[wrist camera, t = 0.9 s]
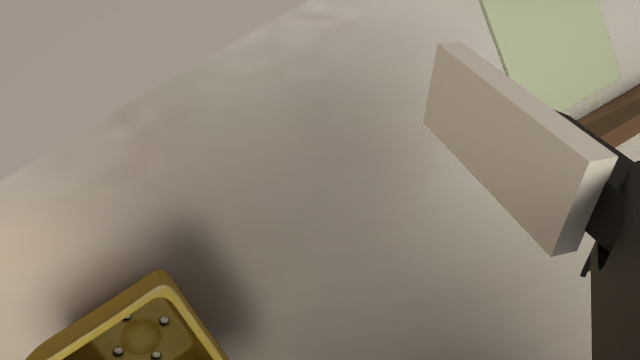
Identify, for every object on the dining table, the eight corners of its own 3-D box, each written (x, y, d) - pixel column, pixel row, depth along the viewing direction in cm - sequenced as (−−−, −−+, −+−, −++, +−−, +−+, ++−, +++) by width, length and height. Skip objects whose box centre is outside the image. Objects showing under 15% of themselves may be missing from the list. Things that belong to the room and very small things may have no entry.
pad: (618, 77, 41) (621, 76, 41) (526, 129, 39) (529, 129, 39) (578, -50, 39) (581, -51, 38) (479, 0, 37) (481, -1, 37)
